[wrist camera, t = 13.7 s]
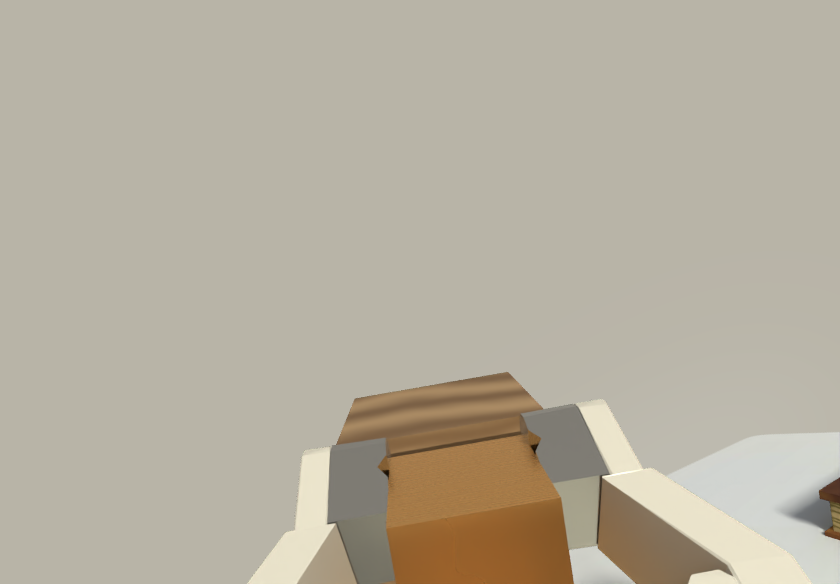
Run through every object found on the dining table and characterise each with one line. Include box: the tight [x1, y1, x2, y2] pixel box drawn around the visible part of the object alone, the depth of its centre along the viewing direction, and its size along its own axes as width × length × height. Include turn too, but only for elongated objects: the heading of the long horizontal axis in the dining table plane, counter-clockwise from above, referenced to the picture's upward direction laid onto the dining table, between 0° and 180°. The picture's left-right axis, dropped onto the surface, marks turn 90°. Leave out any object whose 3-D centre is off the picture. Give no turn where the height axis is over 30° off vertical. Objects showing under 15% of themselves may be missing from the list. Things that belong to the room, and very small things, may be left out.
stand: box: [336, 372, 543, 584], centre depth 44 cm, size 14×14×26 cm
